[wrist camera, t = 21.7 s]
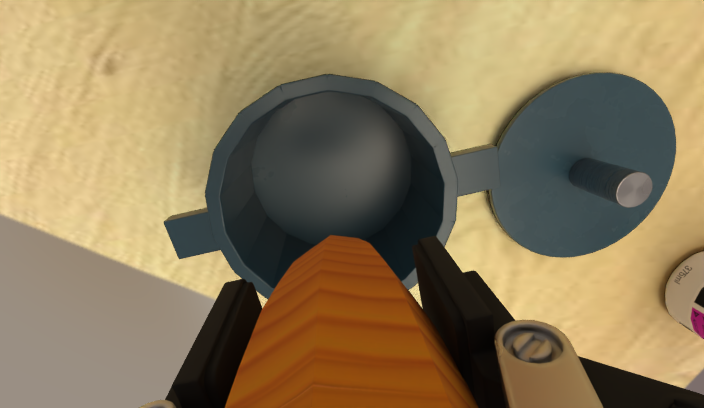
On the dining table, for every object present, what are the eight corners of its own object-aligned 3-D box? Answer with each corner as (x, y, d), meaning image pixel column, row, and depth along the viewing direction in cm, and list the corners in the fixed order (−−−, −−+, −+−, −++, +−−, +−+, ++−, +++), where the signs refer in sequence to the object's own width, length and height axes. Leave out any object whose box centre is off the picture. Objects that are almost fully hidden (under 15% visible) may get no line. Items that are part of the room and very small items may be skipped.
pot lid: (476, 97, 26) (517, 100, 21) (669, 53, 26) (764, 44, 20) (492, 267, 31) (529, 308, 25) (656, 230, 31) (730, 263, 25)
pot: (180, 110, 25) (112, 122, 17) (441, 51, 25) (495, 35, 17) (240, 274, 30) (207, 345, 22) (462, 224, 29) (513, 277, 21)
